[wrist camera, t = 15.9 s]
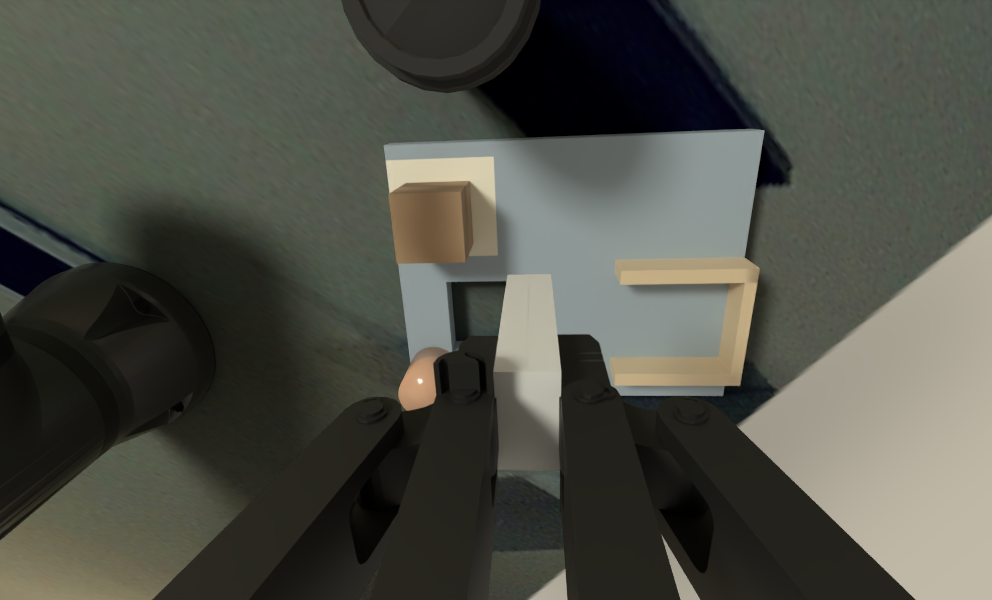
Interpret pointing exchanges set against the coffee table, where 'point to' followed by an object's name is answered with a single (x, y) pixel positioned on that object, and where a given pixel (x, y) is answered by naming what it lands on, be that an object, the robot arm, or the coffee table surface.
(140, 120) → the coffee table surface
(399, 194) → the walnut cube
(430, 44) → the coffee cup
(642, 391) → the board
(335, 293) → the coffee table surface
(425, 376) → the beige cylinder
